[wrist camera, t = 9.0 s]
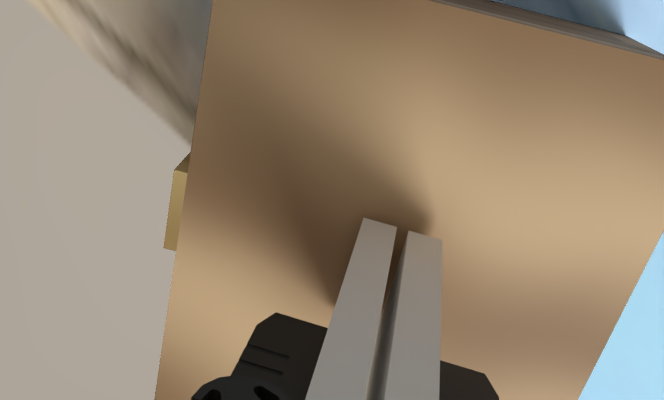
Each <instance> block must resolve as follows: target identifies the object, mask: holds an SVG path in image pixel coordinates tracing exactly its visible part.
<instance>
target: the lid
mask: <svg viewBox="0 0 664 400" xmlns="http://www.w3.org/2000/svg"><path fill="white" fill-rule="evenodd" d="M363 218H368V219H371V220H374V221H378V222H381V223H385V224H388V225H392V226H395V227H397V230H396V236H395V241H394V246H393V252H392V257H391V262H390V268H389V273H388V278H387V284H386V289H385V294H384V300H383V305H382V310H381V316H382V313H383V310H384V306H385V303H386V300H387V297H388V294H389V291H390V288H391V284H392V281H393V278H394V275H395V272H396V269H397V266H398V262H399V259H400V256H401V253H402V250H403V247H404V244H405V240H406V237H407V234H408V231H412V232H416V233H419V234H423V235H426V236H430V237H433V238H436V239H440V240H442V288H441V337H440V360H442V361H445V362H448V363H451V364H455V365H458V366H461V367H465V368H468V369H471V370H474V371H478V372H481V373H484V374H485V375H486V376H487V378H488V380H489V381H490V383H491V385H492V386H493V388H494V390H495V391H496V393H497V395H498V396H499V400H578V398H579V396H580V394H581V392H582V390H583V388H584V386H585V384H586V382H587V381H588V379H589V377H590V375H591V373H592V371H593V369H594V367H595V365H596V363H597V361H598V359H599V357H600V355H601V353H602V351H603V349H604V347H605V345H606V343H607V341H608V339H609V337H610V335H611V333H612V331H613V329H614V327H615V325H616V323H617V321H618V319H619V317H620V316H621V314H622V312H623V310H624V308H625V306H626V304H627V302H628V300H629V298H630V296H631V294H632V292H633V290H634V288H635V286H636V284H637V282H638V280H639V278H640V276H641V274H642V272H643V270H644V268H645V266H646V264H647V262H648V260H649V258H650V256H651V254H652V252H653V251H654V249H655V247H656V245H657V243H658V241H659V239H660V237H661V235H662V233H663V231H664V57H663V56H659V55H655V54H651V53H647V52H643V51H639V50H635V49H631V48H627V47H623V46H619V45H615V44H611V43H608V42H604V41H600V40H596V39H592V38H588V37H584V36H580V35H576V34H572V33H568V32H564V31H560V30H556V29H552V28H548V27H544V26H540V25H537V24H533V23H529V22H525V21H521V20H517V19H513V18H509V17H505V16H501V15H497V14H493V13H489V12H485V11H481V10H477V9H473V8H469V7H466V6H462V5H458V4H454V3H450V2H446V1H442V0H213V3H212V10H211V17H210V24H209V31H208V37H207V44H206V51H205V58H204V65H203V72H202V78H201V85H200V92H199V99H198V106H197V112H196V119H195V126H194V133H193V140H192V147H191V152H190V153H189V154H188V155H187V156H186V158H185V159H184V160H183V161H182V162H181V163H180V164H179V165H178V166H177V167H176V169H175V170H174V176H173V184H172V190H171V197H170V205H169V212H168V219H167V227H166V234H165V241H164V248H166V249H170V250H174V251H176V256H175V263H174V270H173V276H172V283H171V290H170V298H169V303H168V310H167V317H166V324H165V331H164V338H163V344H162V352H161V358H160V365H159V372H158V379H157V385H156V392H155V399H154V400H191V397H192V396H193V395H194V394H195V393H196V392H197V391H198V389H199V388H200V387H201V386H202V385H203V384H206V383H208V382H210V381H212V380H214V379H217V378H219V377H225V376H231V374H232V372H233V370H234V368H235V366H236V364H237V363H238V361H239V358H240V356H241V354H242V352H243V350H244V348H245V347H246V346H247V343H248V341H249V339H250V337H251V335H252V333H253V331H254V329H255V327H256V325H257V324H259V323H260V322H262V321H263V320H265V319H266V318H268V317H269V316H271V315H273V314H274V313H276V312H277V313H280V314H283V315H287V316H290V317H293V318H297V319H300V320H303V321H306V322H310V323H313V324H316V325H320V326H323V327H326V328H328V327H329V324H330V321H331V317H332V314H333V311H334V308H335V305H336V302H337V299H338V296H339V293H340V289H341V286H342V283H343V280H344V277H345V274H346V271H347V268H348V265H349V261H350V258H351V255H352V252H353V249H354V246H355V243H356V240H357V237H358V233H359V230H360V227H361V224H362V221H363ZM381 316H380V319H381ZM379 322H380V321H379Z"/></svg>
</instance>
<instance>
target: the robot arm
mask: <svg viewBox="0 0 664 400" xmlns="http://www.w3.org/2000/svg"><path fill="white" fill-rule="evenodd" d="M396 230H397V227H395V226H392V225H388V224H385V223H381V222H378V221H374V220H371V219H368V218H363V221H362V224H361V227H360V230H359V233H358V237H357V240H356V243H355V246H354V249H353V252H352V255H351V258H350V261H349V265H348V268H347V271H346V274H345V277H344V280H343V283H342V286H341V289H340V293H339V296H338V299H337V302H336V305H335V308H334V311H333V314H332V317H331V321H330V324H329V327H328V328H326V327H323V326H320V325H316V324H313V323H310V322H306V321H303V320H300V319H297V318H293V317H290V316H287V315H283V314H280V313H277V312H276V313H274V314H273V315H271V316H269V317H268V318H266V319H265V320H263V321H262V322H260V323H259V324H257V325H256V327H255V329H254V331H253V333H252V335H251V337H250V339H249V341H248V343H247V346H246V347H245V348H244V350H243V352H242V354H241V356H240V358H239V361H238V363H237V364H236V366H235V368H234V370H233V372H232V374H231V376H225V377H219V378H217V379H214V380H212V381H210V382H208V383H206V384H203V385H202V386H201V387H200V388H199V389H198V391H197V392H196V393H195V394H194V395H193V396H192V397H191V400H499V396H498V395H497V393H496V391H495V390H494V388H493V386H492V385H491V383H490V381H489V380H488V378H487V376H486V375H485V374H484V373H481V372H478V371H474V370H471V369H468V368H465V367H461V366H458V365H455V364H451V363H448V362H445V361H442V360H440V337H441V288H442V240H440V239H436V238H433V237H430V236H426V235H423V234H419V233H416V232H412V231H408V234H407V237H406V240H405V244H404V247H403V250H402V253H401V256H400V259H399V262H398V266H397V269H396V272H395V275H394V278H393V281H392V284H391V288H390V291H389V294H388V297H387V300H386V303H385V306H384V310H383V313H382V316H381V310H382V305H383V300H384V294H385V289H386V284H387V278H388V273H389V268H390V262H391V257H392V252H393V246H394V241H395V236H396ZM380 316H381V319H380ZM379 321H380V322H379Z"/></svg>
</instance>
